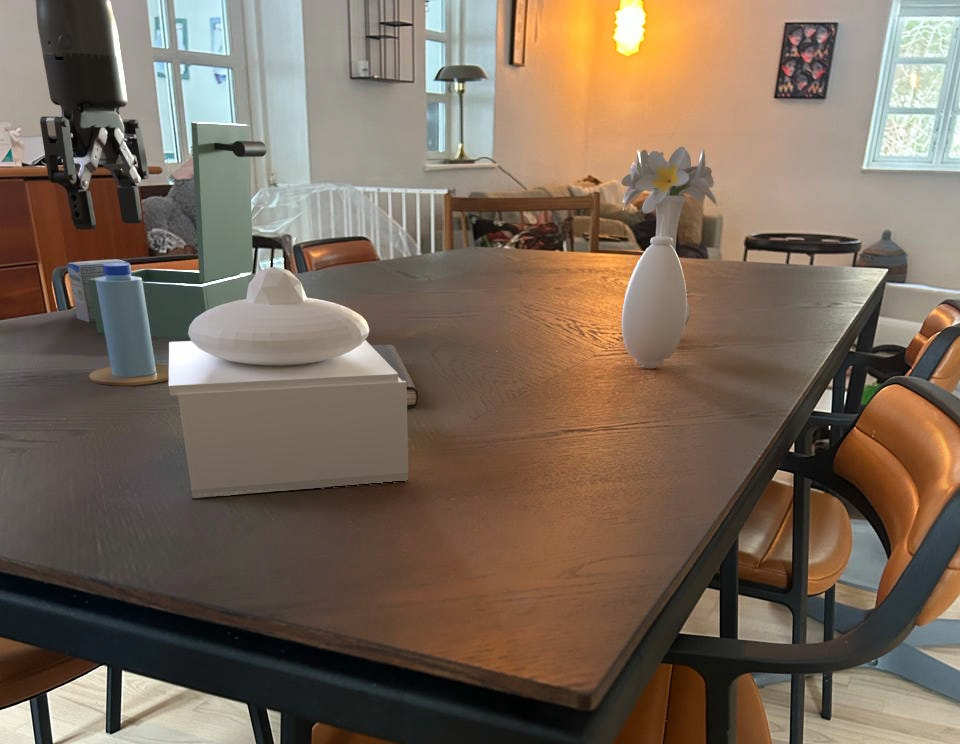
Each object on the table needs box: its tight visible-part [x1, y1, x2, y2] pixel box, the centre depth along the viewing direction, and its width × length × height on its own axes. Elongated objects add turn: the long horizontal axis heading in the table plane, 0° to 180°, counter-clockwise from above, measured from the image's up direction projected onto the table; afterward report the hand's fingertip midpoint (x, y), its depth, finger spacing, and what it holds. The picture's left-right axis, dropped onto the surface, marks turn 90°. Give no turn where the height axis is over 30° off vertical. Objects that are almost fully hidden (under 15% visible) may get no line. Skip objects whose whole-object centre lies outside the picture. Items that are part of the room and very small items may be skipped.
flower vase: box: [621, 146, 719, 326], centre depth 130 cm, size 13×18×25 cm
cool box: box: [88, 268, 252, 340], centre depth 131 cm, size 18×14×8 cm
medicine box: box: [66, 258, 131, 323], centre depth 138 cm, size 8×4×9 cm, turn 134°
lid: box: [190, 121, 268, 283], centre depth 122 cm, size 19×14×5 cm
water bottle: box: [96, 263, 156, 377], centre depth 106 cm, size 5×5×12 cm
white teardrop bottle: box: [621, 213, 688, 370], centre depth 113 cm, size 8×8×18 cm
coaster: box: [88, 363, 169, 387], centre depth 109 cm, size 10×10×1 cm
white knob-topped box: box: [168, 266, 410, 495], centre depth 78 cm, size 18×18×16 cm
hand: (109, 226), depth 101 cm, fingers open, 8 cm apart
